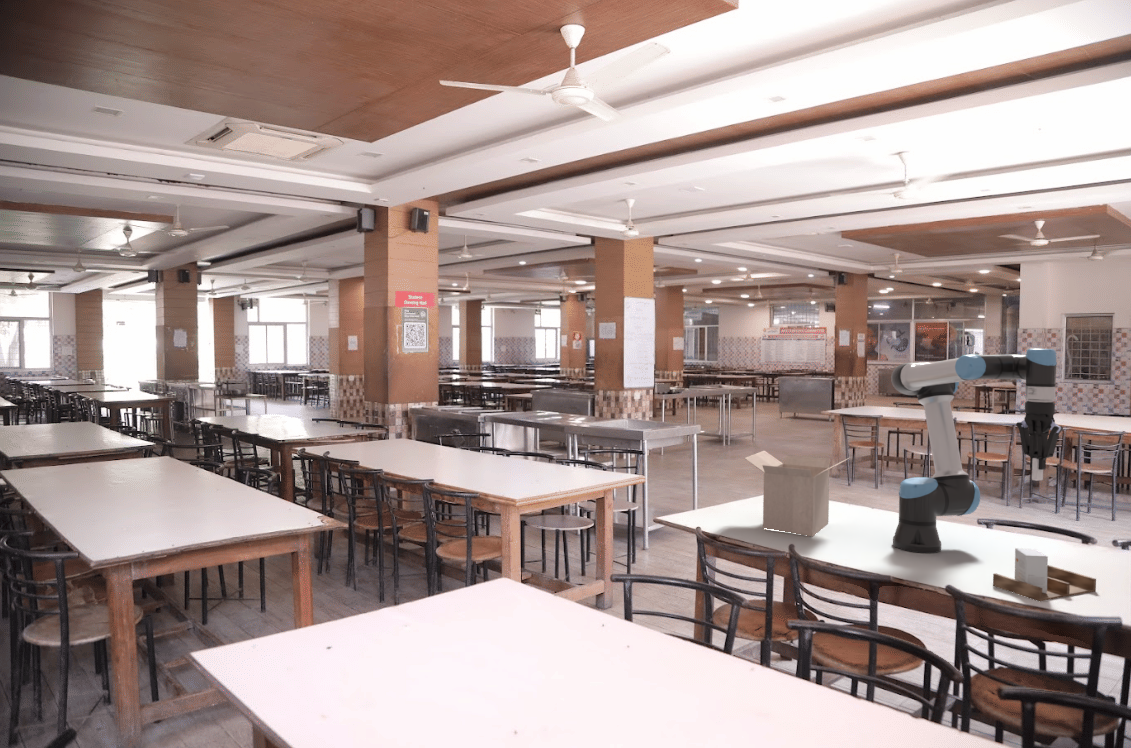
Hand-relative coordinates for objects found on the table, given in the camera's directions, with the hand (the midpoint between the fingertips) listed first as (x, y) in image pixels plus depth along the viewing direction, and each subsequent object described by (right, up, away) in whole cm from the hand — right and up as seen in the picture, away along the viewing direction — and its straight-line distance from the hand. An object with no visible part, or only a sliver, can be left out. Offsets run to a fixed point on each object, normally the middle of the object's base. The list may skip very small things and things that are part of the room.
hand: (1037, 479), depth 224 cm
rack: (-4, -30, -9) cm, 31 cm away
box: (-53, -27, +62) cm, 86 cm away
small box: (-9, -30, -11) cm, 33 cm away
